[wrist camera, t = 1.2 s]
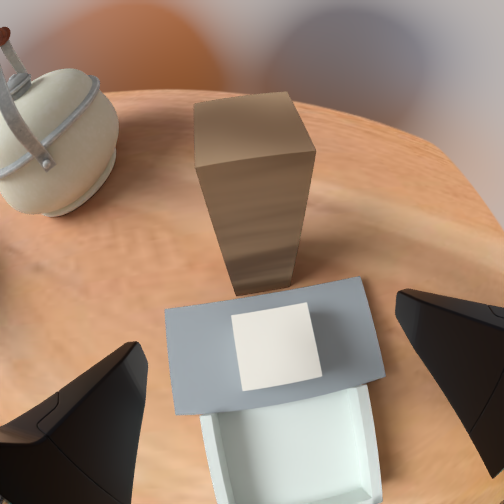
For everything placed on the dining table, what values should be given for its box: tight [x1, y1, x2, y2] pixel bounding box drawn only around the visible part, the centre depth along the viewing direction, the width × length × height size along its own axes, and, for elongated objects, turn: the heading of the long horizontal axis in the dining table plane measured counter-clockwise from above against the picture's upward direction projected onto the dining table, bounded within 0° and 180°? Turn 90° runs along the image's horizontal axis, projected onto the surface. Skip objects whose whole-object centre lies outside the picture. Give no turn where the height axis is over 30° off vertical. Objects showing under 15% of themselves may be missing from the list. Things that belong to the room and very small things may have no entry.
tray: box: [200, 385, 383, 504], centre depth 15 cm, size 10×12×3 cm
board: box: [165, 276, 386, 415], centre depth 20 cm, size 8×16×2 cm, turn 99°
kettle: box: [0, 27, 119, 217], centre depth 21 cm, size 25×18×25 cm
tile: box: [231, 302, 322, 391], centre depth 18 cm, size 5×5×3 cm
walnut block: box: [194, 92, 316, 296], centre depth 17 cm, size 4×4×15 cm
